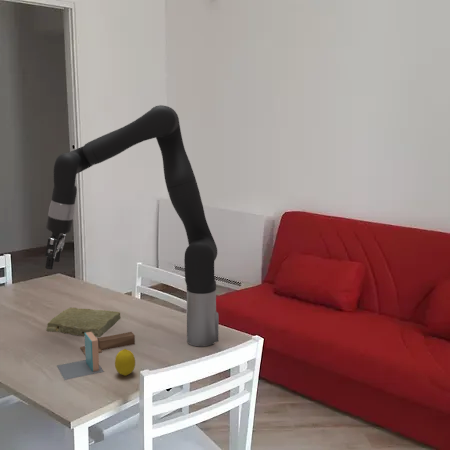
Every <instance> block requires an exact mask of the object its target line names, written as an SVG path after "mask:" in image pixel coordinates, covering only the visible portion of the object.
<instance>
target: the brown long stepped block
mask: <svg viewBox="0 0 450 450" xmlns="http://www.w3.org/2000/svg"><path fill="white" fill-rule="evenodd" d="M135 336H136V335H135V334H134V333H133V331H128V332H123V333H119V334H112V335H107V336H100V337H96V338H97V340H98V354H102V352H103V351H106V350H110V349H111V350H112V349H116V348H123V347H127V346H133V345H135V344H136V339H135V338H136V337H135ZM79 349H80V350H81V352H82V353H83V355H85V345H84V346H79Z"/></svg>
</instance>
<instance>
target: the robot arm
mask: <svg viewBox="0 0 450 450" xmlns="http://www.w3.org/2000/svg"><path fill="white" fill-rule="evenodd" d="M152 139H156V142H157V144H158V147H159V149H160V152H161V153H160V154H161V157H162V167H163V176H164V182H165V186H166V190H167V192H168V193H167V194H168V195H169V199H170V202H171V205H172V207H173V208H174V210H175V213H176V214H177V215H178V217H179V219H180V220H181V222H182V224H183V227H184V229H185V233H186V237H187V242H188V243H187V244H188V246H187V247H186V249H185V251H184V258H183V260H184V262H183V263H184V281H185V284H186V342H187V343H188V344H189V345H191V346H193V347H208V346H212V345H213V344H215V343H217V342H219V312H218V311H217V281H216V280H215V261H216V259H217V256H218V247H217V244H216V242H215V239H214V237H213V235H212V232H211V229H210V227H209V225H208V221H207V219H206V215H205V214H206V213H205V210H204V209H205V208H204V205H203V201H202V200H203V199H202V197H201V193H200V189H199V186H198V182H197V179H196V176H195V173H194V169H193V167H192V164H191V161H190V159H189V156H188V155H187V152H186V148H185V145H184V141H183V134H182V130H181V124H180V118H179V116H178V114H177V112H176V110H174V109H173V108H172V107H170V106H167V105H162V104H159V105H155V106H153V107H152V108H150V110H148V111H147V112H145V113H144V114H142V115H141V116H140V117H138V118H136V119H135V120H134V121H132V122H130V123H128V124H126V125H124V126H123V127H120V128H118V129H116V130H114V131H110V132H108V133H106V134H104V135H101V136H99V137H97V138H94V139H93V140H91V141H88V142H86V143H85V144H83V146H81V147H80V146H79V147H78V148H76V149H73V150H71V151H68V152H64V153H61V154H59V155H58V156H57V157H56V159H55V162H54V165H53V190H52V194H51V201H50V204H49V208H48V214H47V220H46V229H47V230H48V231H49V232H51V235H49V237H48V238H47V243H46V249H45V253H44V257H45V258H46V262H45V269H47V270H53V269H54V265H55V262H56V263H59V262H60V260H61V255H62V251H63V249H64V247H65V244H66V243H65V241H66V237H67V234H69V233H71V232H72V228H73V222H74V215H75V204H76V198H77V186H76V177H77V175H78V174H79V173H81V172H83V171H86V170H87V169H89V168H91V167H93V166H95V165H98V164H101V163H103V162H105V161H107V160H110V159H111V158H113V157H116V156H118V155H119V154H121V153H123V152H125V151H126V150H129V148H131V147H133V146H136V145H137V144H140V143H143V142H145V141H150V140H152ZM51 251H52V253H51Z"/></svg>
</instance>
